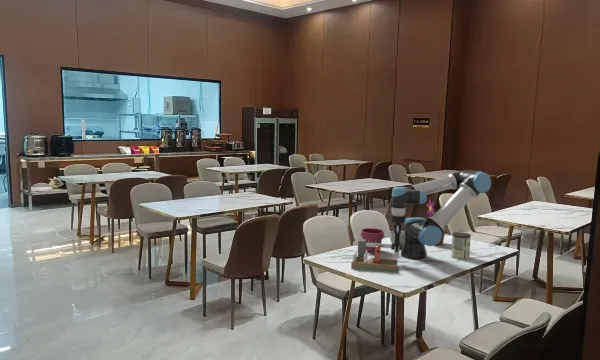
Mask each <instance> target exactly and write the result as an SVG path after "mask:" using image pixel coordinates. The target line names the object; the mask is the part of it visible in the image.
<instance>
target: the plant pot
mask: <svg viewBox="0 0 600 360" xmlns="http://www.w3.org/2000/svg"><path fill="white" fill-rule="evenodd" d="M360 237H361V239H366V243H380V244H382V241H383V238H385V231H384V230H383V229H381V228H374V227H373V228H372V227H371V228H369V227H367V228H362V229H361V230H360ZM366 250H367V253H371V254H372V253H374V254H375V247H367V246H366Z"/></svg>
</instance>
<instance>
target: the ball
mask: <svg viewBox="0 0 600 360" xmlns="http://www.w3.org/2000/svg"><path fill="white" fill-rule="evenodd" d="M367 257H368V258H367V260H366V261H367V263H372V264H373V262H374V259H373V258H374V257H371V256H367Z"/></svg>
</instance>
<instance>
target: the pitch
mask: <svg viewBox="0 0 600 360" xmlns="http://www.w3.org/2000/svg"><path fill="white" fill-rule="evenodd" d="M357 242H358V246H357V249H354V250H353V251H354V252H353V253H352V261H351V262H350V263H351V265H350V267H351V268H350V269H351V270H354V269H355V270H361V269H362V271H363V270H364V271H375V272H384V273H385V272H386V273H387V272H388V273H397V272H398V271H397V270H398V259H396V258H395V259H394V258H382V257H381V261H380V264H374V262H373V264H372V263H367V261H366V260H367V258H368V257H369V256H368V252H367V250H366V246H365V243H366V239H362V238H361V239H360V238H358V241H357ZM372 258H373V259H374V258H375V257H372Z"/></svg>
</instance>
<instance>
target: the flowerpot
mask: <svg viewBox="0 0 600 360" xmlns="http://www.w3.org/2000/svg"><path fill="white" fill-rule="evenodd" d="M428 200H429V201H428V203H426V206H427V208H428V210H426V211H427V215H429V217H433V216H434V215H435V213H436V212H435V209H434V206H435V202H432V200H431V198H429V199H428ZM447 232H448V230H447V228H445V227H444V232H443V233H442V236H441V237H442V238H441V240H440V242H439V243H438V244H436V246H437V247H440V246H443V244H444V239H445V234H447ZM439 245H440V246H439ZM436 246H435V247H436Z"/></svg>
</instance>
